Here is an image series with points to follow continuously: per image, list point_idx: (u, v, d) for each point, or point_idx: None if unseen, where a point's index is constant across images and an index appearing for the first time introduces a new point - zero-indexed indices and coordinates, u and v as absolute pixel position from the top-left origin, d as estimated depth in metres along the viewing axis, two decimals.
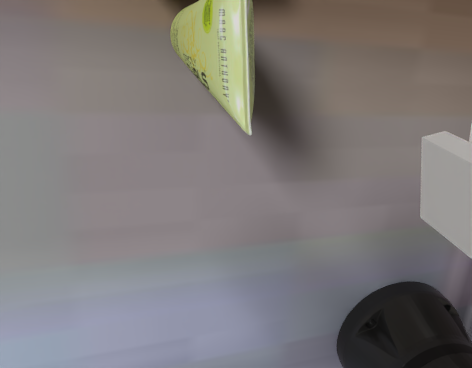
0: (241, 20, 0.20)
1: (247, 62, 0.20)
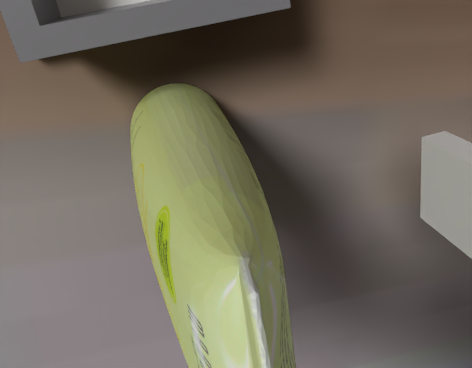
0: None
1: None
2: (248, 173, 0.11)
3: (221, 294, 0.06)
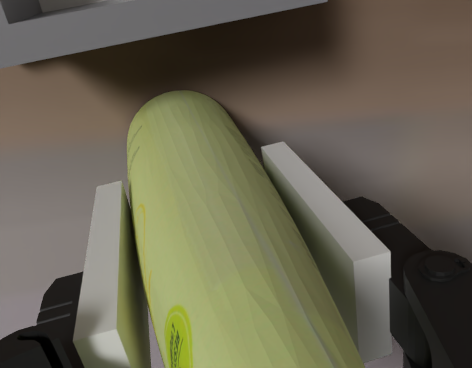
0: None
1: None
2: (297, 239, 0.07)
3: None
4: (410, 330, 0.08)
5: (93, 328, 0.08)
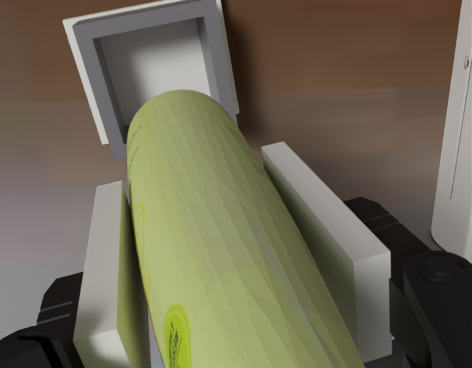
0: None
1: None
2: (297, 238, 0.07)
3: None
4: (410, 330, 0.08)
5: (93, 328, 0.08)
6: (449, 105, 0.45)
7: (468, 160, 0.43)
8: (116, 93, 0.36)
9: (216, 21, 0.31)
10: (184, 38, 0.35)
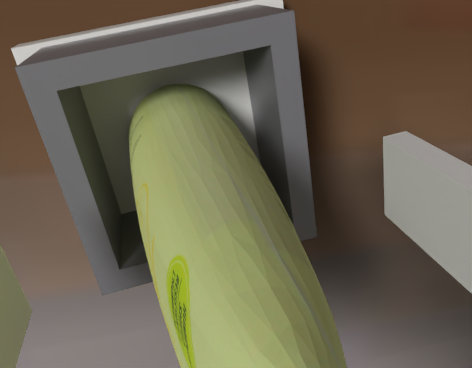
0: None
1: None
2: (278, 206, 0.09)
3: None
4: None
5: None
6: None
7: None
8: (107, 165, 0.22)
9: (293, 54, 0.16)
10: (221, 75, 0.21)
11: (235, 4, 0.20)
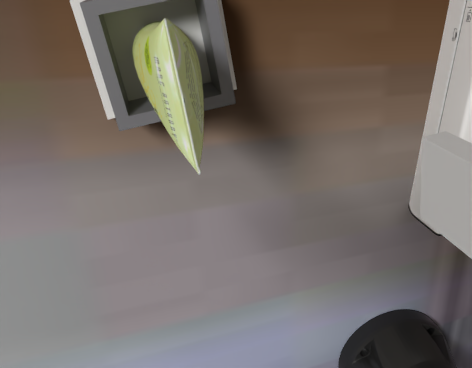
0: (173, 69, 0.21)
1: (184, 109, 0.21)
2: None
3: (160, 34, 0.20)
4: None
5: None
6: (435, 78, 0.47)
7: (449, 130, 0.45)
8: (120, 70, 0.38)
9: None
10: (184, 17, 0.37)
11: None
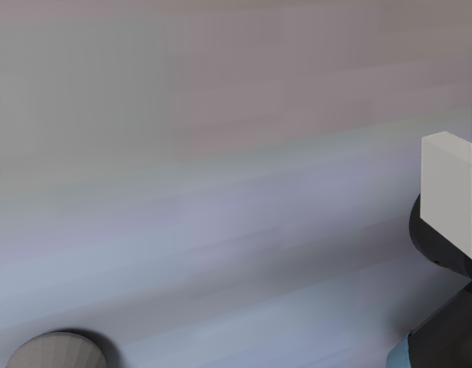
0: None
1: None
2: None
3: None
4: None
5: None
6: None
7: None
8: None
9: None
10: None
11: None
